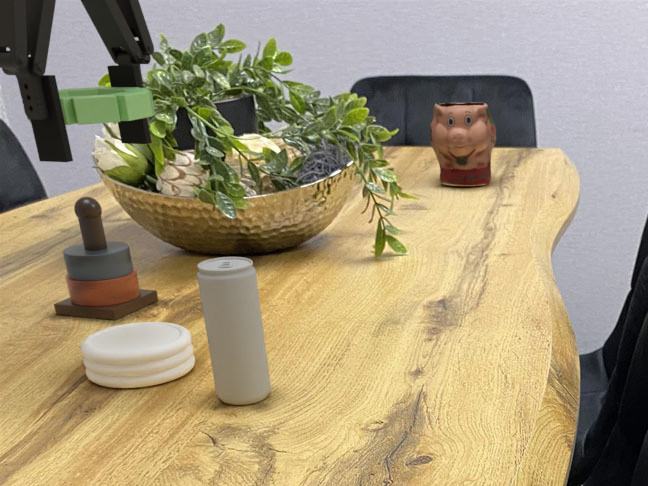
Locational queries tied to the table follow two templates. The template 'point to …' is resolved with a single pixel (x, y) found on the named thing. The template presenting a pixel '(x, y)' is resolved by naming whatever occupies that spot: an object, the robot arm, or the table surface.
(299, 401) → the table surface
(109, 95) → the green ring
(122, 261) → the stacking stand
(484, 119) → the decorative planter
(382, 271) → the table surface
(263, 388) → the beverage can
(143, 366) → the coaster
